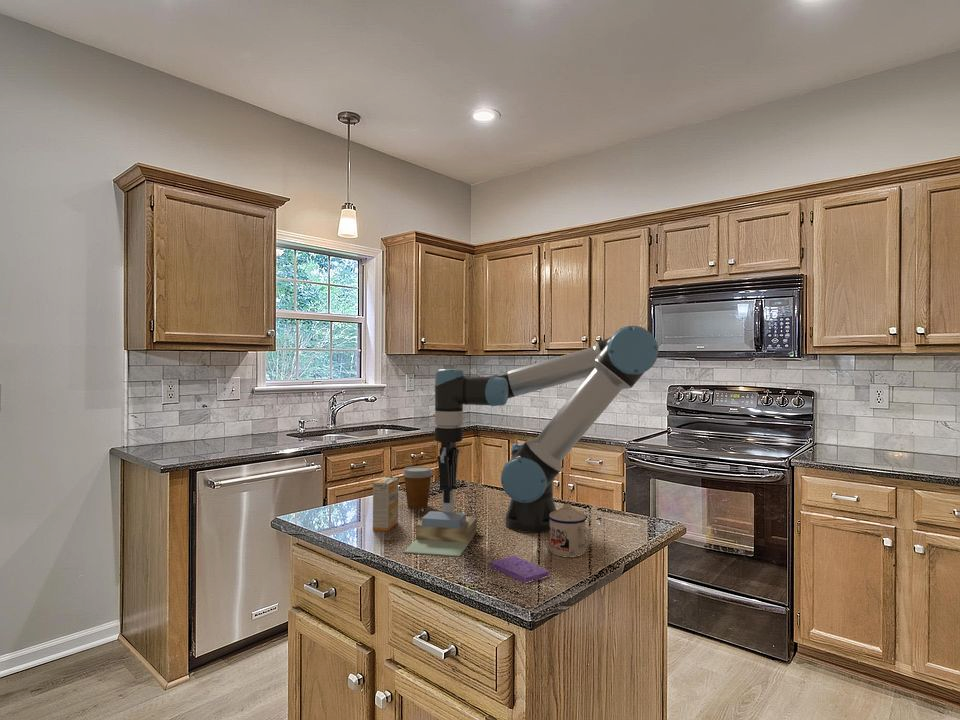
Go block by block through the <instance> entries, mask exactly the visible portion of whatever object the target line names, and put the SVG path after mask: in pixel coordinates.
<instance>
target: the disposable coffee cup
mask: <svg viewBox="0 0 960 720" xmlns="http://www.w3.org/2000/svg"><path fill="white" fill-rule="evenodd" d="M402 475H403V479H404V486H405V487H404V488H405V494H406V502H407V503H406V504H407V508H408V509H413V510H414V509H416V510H419V509H425V508H427V507H428V503H429V497H430V490H431V489H430V488H431V480H432V475H433V471H432V468H431V467H429V466H424V465H423V466H422V465H421V466H420V465H418V466H417V465H416V466H414V465H413V466H408V467H404V468H403V471H402Z"/></svg>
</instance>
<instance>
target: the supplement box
mask: <svg viewBox="0 0 960 720" xmlns="http://www.w3.org/2000/svg"><path fill="white" fill-rule="evenodd" d="M398 523H399V478H398V477H382V478H381V479H378V480H376V481H374V482H372V531H383V532H388V531H389V530H391V529H392V528H393V527H395V526H396V525H397V524H398Z"/></svg>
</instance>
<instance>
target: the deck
mask: <svg viewBox="0 0 960 720" xmlns="http://www.w3.org/2000/svg"><path fill="white" fill-rule="evenodd" d="M477 519H478V518H477V517H475V516H473V517H471V516H466V522H465V523H464V524H463V525H462V526H461V527H460V529H458V528H444V527H429V526H422V519H421V520H420V521H419V522H417V524H415V540H416V539H417V540H432V541H447V542H462V543H469V544H470V543H471V541H472V540H473V538H474V537H475V536H476V534H477V533H478V532H477V531H478V529H477V527H478V525H477V523H478V521H477Z"/></svg>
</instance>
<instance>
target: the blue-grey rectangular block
mask: <svg viewBox="0 0 960 720" xmlns="http://www.w3.org/2000/svg"><path fill="white" fill-rule="evenodd" d="M466 517H467V513H465V512H463V513H462V512H453V513H451V512H442V511H436V510H435V511H433V510H429V511H428V512H427V513H426V514H425V515H424V516H422V517H421V520H422V526H429V527H444V528H458V529H460V527H461V526H462V525H463V524H464V523H465V522H466Z"/></svg>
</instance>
